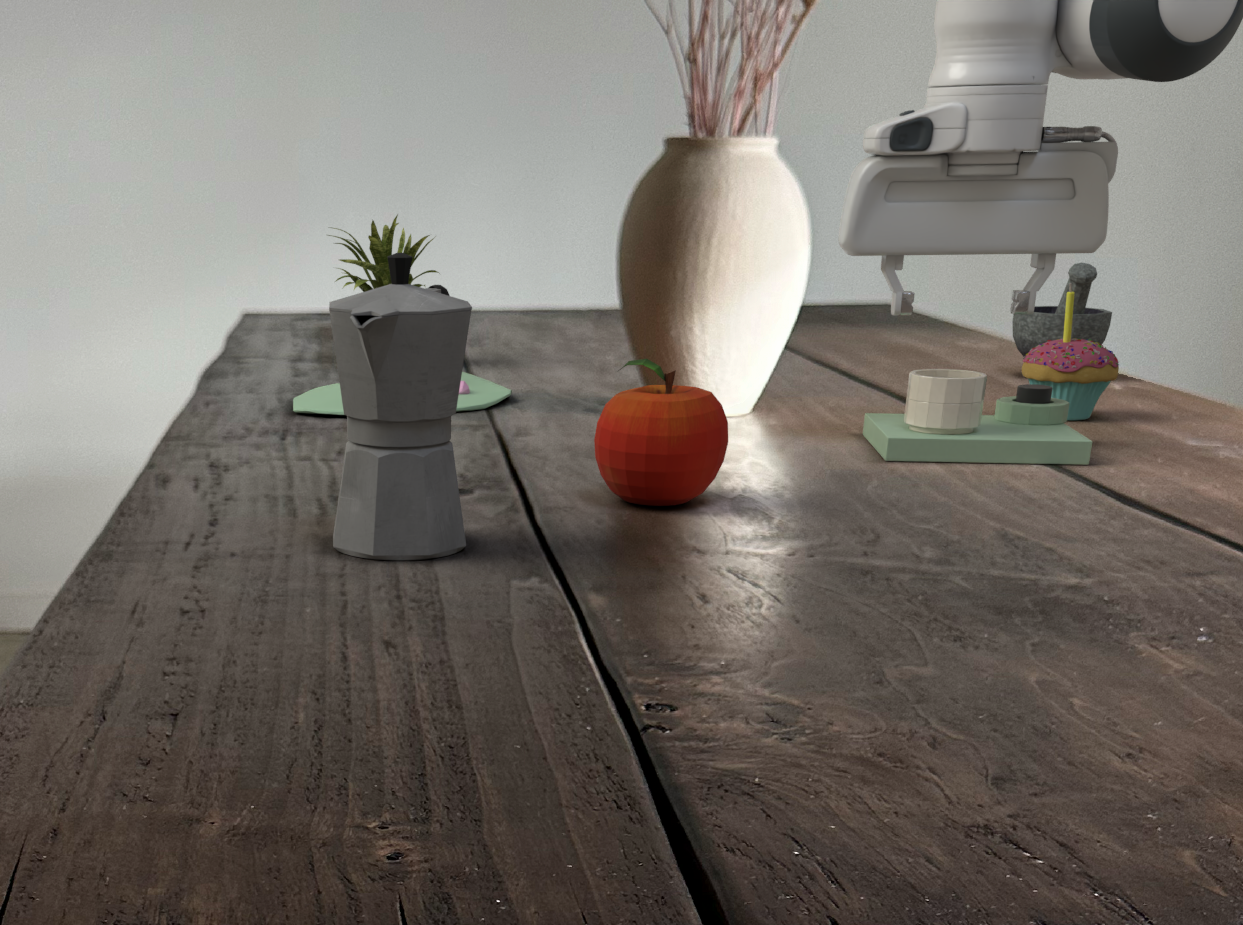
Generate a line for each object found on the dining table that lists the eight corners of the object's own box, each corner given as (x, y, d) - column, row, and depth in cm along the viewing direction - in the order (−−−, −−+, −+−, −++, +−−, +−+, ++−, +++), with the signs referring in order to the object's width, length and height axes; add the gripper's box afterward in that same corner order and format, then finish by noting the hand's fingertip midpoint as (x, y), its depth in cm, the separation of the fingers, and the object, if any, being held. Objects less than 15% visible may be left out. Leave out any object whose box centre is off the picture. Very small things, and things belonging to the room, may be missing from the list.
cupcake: (1081, 426, 154) (1103, 287, 150) (995, 416, 160) (1014, 281, 155) (1127, 416, 160) (1150, 281, 155) (1042, 406, 165) (1062, 276, 161)
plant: (441, 426, 155) (442, 323, 151) (244, 411, 163) (241, 313, 160) (539, 391, 176) (543, 299, 172) (360, 379, 184) (360, 291, 180)
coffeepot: (432, 574, 104) (436, 262, 97) (292, 561, 107) (285, 258, 100) (507, 523, 117) (515, 245, 110) (380, 513, 121) (380, 242, 113)
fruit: (711, 519, 118) (723, 370, 114) (577, 509, 122) (584, 364, 118) (734, 493, 127) (745, 354, 123) (607, 485, 130) (615, 349, 126)
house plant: (316, 357, 202) (313, 209, 196) (431, 355, 204) (432, 208, 197) (326, 372, 189) (324, 215, 183) (449, 370, 191) (451, 214, 184)
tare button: (1045, 402, 147) (1048, 384, 146) (1053, 407, 144) (1056, 389, 144) (1011, 402, 147) (1014, 384, 146) (1019, 407, 145) (1021, 388, 144)
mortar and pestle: (997, 370, 190) (1013, 256, 185) (1083, 370, 189) (1102, 256, 185) (1023, 384, 180) (1041, 263, 175) (1114, 385, 179) (1135, 264, 174)
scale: (1052, 437, 149) (1059, 396, 148) (1093, 465, 137) (1100, 420, 136) (861, 434, 151) (866, 393, 150) (885, 461, 139) (890, 417, 137)
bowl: (970, 424, 144) (978, 369, 142) (985, 436, 139) (993, 379, 137) (898, 423, 145) (904, 368, 143) (910, 434, 139) (916, 378, 138)
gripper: (1110, 125, 134) (1084, 309, 139) (844, 130, 136) (828, 311, 142) (1134, 125, 128) (1106, 317, 134) (855, 130, 131) (839, 319, 136)
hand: (961, 314), depth 138 cm, fingers open, 8 cm apart
